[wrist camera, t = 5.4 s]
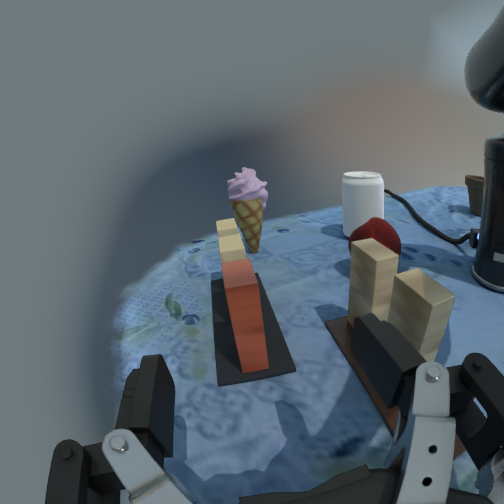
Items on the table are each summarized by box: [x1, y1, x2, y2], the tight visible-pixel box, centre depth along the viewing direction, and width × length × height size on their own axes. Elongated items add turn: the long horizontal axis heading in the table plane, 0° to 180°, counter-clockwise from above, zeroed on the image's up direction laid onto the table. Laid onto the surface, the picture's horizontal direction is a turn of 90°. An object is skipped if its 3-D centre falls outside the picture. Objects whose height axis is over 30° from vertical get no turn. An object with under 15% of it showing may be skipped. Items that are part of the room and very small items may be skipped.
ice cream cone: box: [227, 167, 268, 253], centre depth 46 cm, size 7×6×15 cm
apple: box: [349, 217, 401, 257], centre depth 35 cm, size 7×8×8 cm
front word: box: [325, 238, 467, 460], centre depth 17 cm, size 20×7×9 cm, turn 9°
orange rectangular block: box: [221, 259, 269, 373], centre depth 23 cm, size 4×2×9 cm, turn 9°
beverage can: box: [342, 172, 384, 237], centre depth 48 cm, size 8×8×12 cm
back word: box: [211, 218, 296, 386], centre depth 30 cm, size 20×7×9 cm, turn 9°
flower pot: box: [465, 175, 484, 216], centre depth 53 cm, size 12×11×10 cm
